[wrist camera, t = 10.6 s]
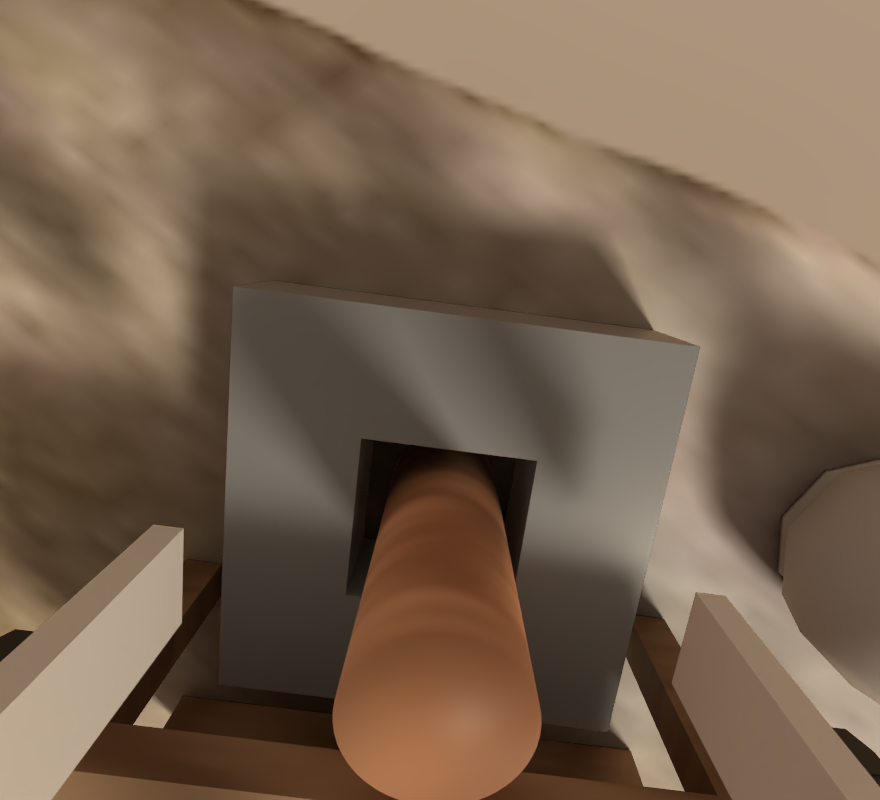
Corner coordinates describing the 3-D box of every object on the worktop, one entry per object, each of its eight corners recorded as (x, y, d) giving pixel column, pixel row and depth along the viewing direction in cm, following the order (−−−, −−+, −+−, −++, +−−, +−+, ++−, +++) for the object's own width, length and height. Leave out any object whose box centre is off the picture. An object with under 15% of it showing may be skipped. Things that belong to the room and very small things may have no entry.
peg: (388, 522, 23) (324, 794, 11) (399, 428, 22) (341, 619, 10) (486, 534, 23) (523, 817, 11) (501, 441, 22) (558, 646, 10)
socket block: (255, 615, 24) (218, 684, 20) (273, 280, 21) (233, 285, 17) (582, 656, 24) (607, 731, 20) (653, 330, 21) (700, 346, 17)
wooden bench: (171, 722, 26) (0, 1006, 16) (173, 552, 24) (-21, 759, 14) (634, 778, 26) (743, 1091, 16) (677, 615, 24) (832, 861, 14)
